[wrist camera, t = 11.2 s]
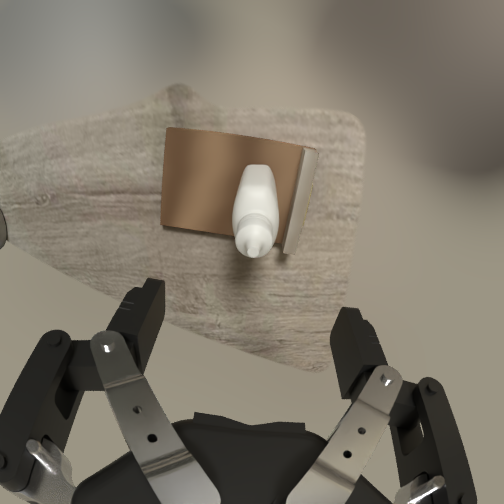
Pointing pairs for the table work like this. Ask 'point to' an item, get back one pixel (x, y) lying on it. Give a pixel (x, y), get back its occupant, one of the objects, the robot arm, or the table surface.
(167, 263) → the table surface
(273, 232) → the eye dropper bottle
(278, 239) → the walnut shelf board
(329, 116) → the table surface
